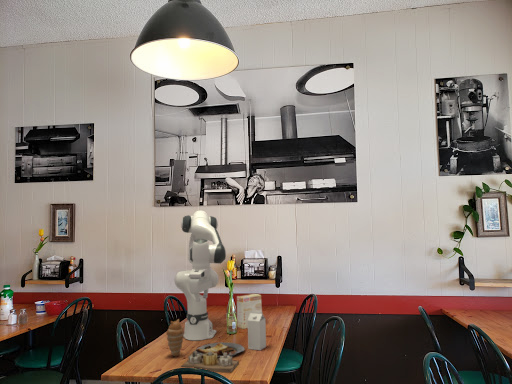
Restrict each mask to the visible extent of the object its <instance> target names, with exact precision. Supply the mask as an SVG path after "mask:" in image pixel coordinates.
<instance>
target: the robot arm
mask: <svg viewBox="0 0 512 384" xmlns="http://www.w3.org/2000/svg"><path fill="white" fill-rule="evenodd" d="M218 226H219V225H218V220H217V217H214V216H212V215H210V216H209V214H208V213H207V212H206V211H204V210H196V211H195V212H194V213H193V215H184V216H183V217H182V219H181V221H180V227H181V230H182V231H183V233H187V234H190V237H189V241H188V243H189V244H188V254H187V255H188V257H187V258H188V259H187V260H188V262H189V264H191V269H188V270H181V271H177V272H176V275H175V276H174V284H175V286H176V287H177V289H179V290H180V291H181V292H182V293H183V294H184V296H185V299H186V304H187V307H186V308H187V313H186V321H185V322H184V332H183V339H186V340H189V341H203V340H207V339H208V340H209V339H213V338H214V336H215V335H216V333H217V330H215V329H213V327H214V326H213V322H212V321H211V320H210V319H209V315H210V312H209V311H207V299H208V294H209V289H211V288H212V289H213V288H216V286H217V285H218V283H219V279H220V277H219V275H218V273H217V272H216V270H214V269H213V268H212V267H211V264H219V265H220V264H222V263H223V262H225V260H226V257H227V251H226V247H225V246H224V243H223V242H222V239H221V236H220V235H219V232H218ZM209 241H210V242H212V244H210V243H209ZM200 293H203V295H202V294H200Z"/></svg>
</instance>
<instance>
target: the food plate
mask: <svg viewBox="0 0 512 384" xmlns="http://www.w3.org/2000/svg"><path fill="white" fill-rule="evenodd" d="M245 350H246V349H245V347H244V346H243V345H241V344H238V343H234V342H222V341H220V342H214V343H206V344H203V345H201V346H198V347H197V348H196V349H195V351H197V354H200V355H202V357H203V354H206V353H208V352H214V353H217V358H220V356H223V353H227V356H230V357H235V355H238V354H240V353H241V352H244V351H245Z"/></svg>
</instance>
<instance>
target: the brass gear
mask: <svg viewBox="0 0 512 384" xmlns="http://www.w3.org/2000/svg"><path fill="white" fill-rule="evenodd" d="M202 358H203V365H206V366H209V365H214V364H217V359H218V357H217V353H214V352H212V355H211V356H208V353H206V354H203V356H202Z"/></svg>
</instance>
